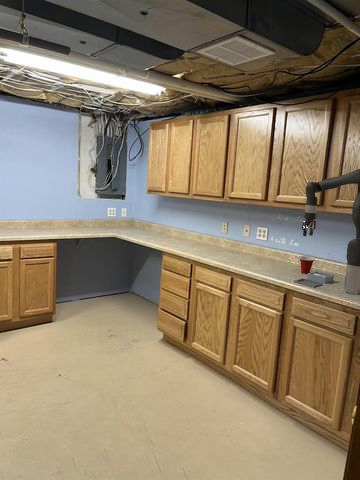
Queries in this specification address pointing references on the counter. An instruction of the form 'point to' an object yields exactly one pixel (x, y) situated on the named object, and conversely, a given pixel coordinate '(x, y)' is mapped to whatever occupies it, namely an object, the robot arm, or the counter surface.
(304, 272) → the plastic cup
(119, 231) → the counter surface
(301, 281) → the parts tray
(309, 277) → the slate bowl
